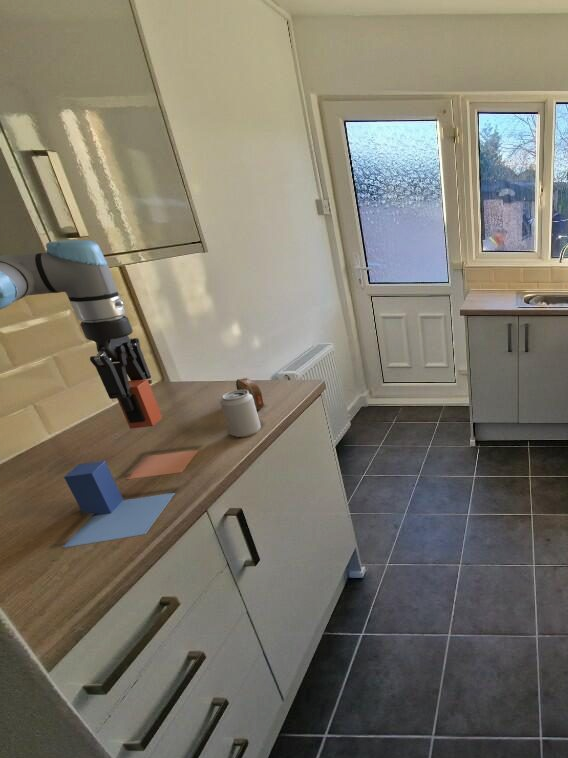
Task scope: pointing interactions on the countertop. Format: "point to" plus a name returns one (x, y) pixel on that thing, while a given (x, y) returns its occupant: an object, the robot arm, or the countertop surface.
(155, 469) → the terracotta mat
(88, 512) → the blue block
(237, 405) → the can
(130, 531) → the blue mat
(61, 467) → the countertop surface
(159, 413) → the terracotta block
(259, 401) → the brown curved piece
